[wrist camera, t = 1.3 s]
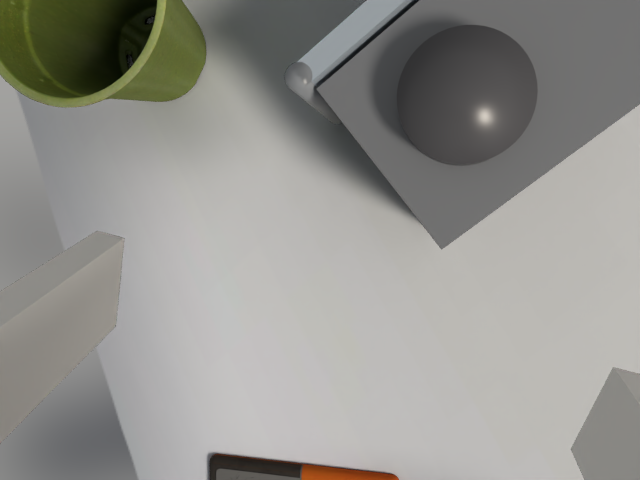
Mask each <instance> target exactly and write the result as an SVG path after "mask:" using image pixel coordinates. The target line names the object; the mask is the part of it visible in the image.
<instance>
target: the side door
mask: <svg viewBox="0 0 640 480" xmlns="http://www.w3.org/2000/svg"><path fill="white" fill-rule="evenodd" d="M418 1H419V0H366V1H365V2H364V3H363V4H362V5H361V6H360V7H359V8H357V9H356V10H355V11H354V12H353V13H352V14H351V15H349V16H348V17H347V18H346V19H345V20H344V21H343V22H342V23H340V24H339V25H338V26H337V27H336V28H335V29H334V30H332V31H331V32H330V33H329V34H328V35H327V36H326V37H325V38H323V39H322V40H321V41H320V42H319V43H318V44H317V45H315V46H314V47H313V48H312V49H311V50H310V51H309V52H308V53H306V54H305V55H304V56H303V57H302V58H301V59H300V60H298V61H297V62H295V63H293V64H291V65H290V66H289V67H288V68H287V69H286V72H285V76H284V78H285V83H286V85H287V86H288V87H289V88H290V89H291V90H292V91H293V92H295V93H296V94H297V95H298V96H300V97H301V98H302V99H303V100H305V101H306V102H307V103H308V104H309V105H311V106H312V107H313V108H314V109H316V110H317V111H318V112H319V113H321V114H322V115H323V116H324V117H326V118H327V119H328V120H329V121H330V122H332V123H334V124H340V123H342V121H341V120H340V119H339V117H338V116H337V115H336V114H335V112H334V111H333V110H332V108H331V107H330V106H329V105H328V103H327V102H326V101H325V99H324V98H323V97H322V96H321V94H320V93H319V92H318V91H317V88H318V87H319V86H320V85H322V84H323V83H324V82H325V81H326V80H327V79H329V78H330V77H331V76H332V75H333V74H334V73H336V72H337V71H338V70H339V69H340V68H341V67H343V66H344V65H345V64H346V63H347V62H348V61H350V60H351V59H352V58H353V57H354V56H355V55H357V54H358V53H359V52H360V51H361V50H362V49H363V48H365V47H366V46H367V45H368V44H369V43H370V42H372V41H373V40H374V39H375V38H376V37H377V36H379V35H380V34H381V33H382V32H383V31H384V30H386V29H387V28H388V27H389V26H390V25H391V24H393V23H394V22H395V21H396V20H397V19H398V18H400V17H401V16H402V15H403V14H404V13H405V12H407V11H408V10H409V9H410V8H411V7H412V6H414V5H415V4H416V3H417V2H418Z"/></svg>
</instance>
